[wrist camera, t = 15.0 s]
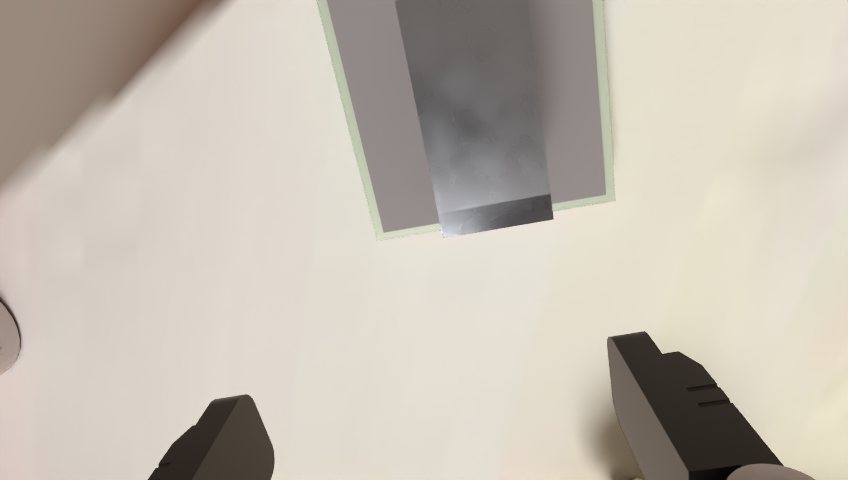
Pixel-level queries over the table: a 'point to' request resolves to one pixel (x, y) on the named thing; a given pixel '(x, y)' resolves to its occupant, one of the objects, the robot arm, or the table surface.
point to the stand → (399, 124)
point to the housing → (478, 111)
